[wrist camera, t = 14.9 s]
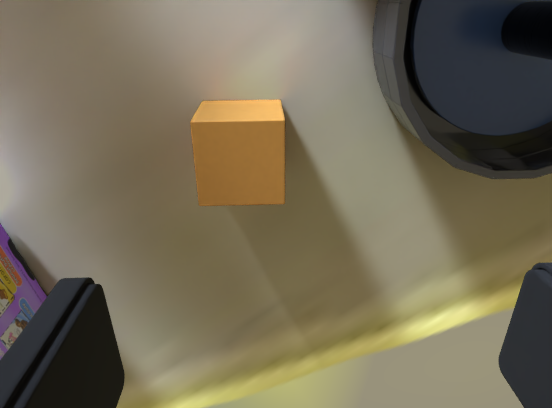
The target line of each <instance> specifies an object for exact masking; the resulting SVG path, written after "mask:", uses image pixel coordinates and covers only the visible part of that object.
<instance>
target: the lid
mask: <svg viewBox="0 0 552 408" xmlns="http://www.w3.org/2000/svg"><path fill="white" fill-rule="evenodd" d="M410 51H411V62H412V68H413V73H414V76H415V79H416V82H417V85H418V87H419V89H420V91H421V93H422V95H423V97H424V98H425V100H426V101H427V103H428V104H429V105H430V107H431V108H432V109H433V110H434V111H435V112H436V113H437V114H438V115H439V116H441V117H442V118H443V119H445V120H446V121H447V122H449V123H450V124H452V125H454V126H456V127H458V128H460V129H462V130H465V131H468V132H471V133H474V134H480V135H487V136H503V135H512V134H517V133H522V132H526V131H529V130H532V129H535V128H538V127H540V126H542V125H544V124H547V123H549V122H551V121H552V0H418V2H417V6H416V9H415V12H414V17H413V22H412V27H411V39H410Z"/></svg>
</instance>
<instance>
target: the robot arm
mask: <svg viewBox="0 0 552 408" xmlns="http://www.w3.org/2000/svg"><path fill="white" fill-rule="evenodd" d="M499 367H500V370H501V373H502V374H503V376H504V378H505V379H506V381H507V382H508V384H509V385H510V387H511V388H512V390H513V391H514V393H515V394H516V396H517V397H518V399H519V400H520V402H521V403H522V405H523V407H524V408H552V263H538V264H536V265H534V266H533V268H532V270H529V271H528V272H527V273H526V274H525V277H524V280H523V283H522V286H521V289H520V293H519V296H518V299H517V302H516V305H515V308H514V311H513V314H512V318H511V321H510V324H509V327H508V330H507V333H506V336H505V340H504V343H503V346H502V349H501V352H500V355H499ZM123 386H124V369H123V365H122V361H121V357H120V353H119V350H118V346H117V342H116V338H115V334H114V330H113V326H112V322H111V318H110V314H109V311H108V307H107V303H106V299H105V295H104V291H103V288H102V286H101V285H100V284H95V283H94V281H93V280H92V278H64V279H61V280H60V281H59V282H58V283H57V284H56V286H55V287H54V288H53V290H52V291H51V292H50V294H49V295H48V296H47V298H46V299H45V301H44V302H43V303H42V305H41V306H40V307H39V309H38V310H37V311H36V313H35V314H34V316H33V317H32V318H31V320H30V321H29V322H28V324H27V325H26V326H25V328H24V329H23V331H22V332H21V333H20V335H19V336H18V337H17V339H16V340H15V341H14V343H13V344H12V346H11V347H10V348H9V350H8V351H7V352H6V353H5V354H4V356H3V357H2V358H1V360H0V408H116V406H117V404H118V401H119V398H120V395H121V392H122V390H123Z"/></svg>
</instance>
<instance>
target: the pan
mask: <svg viewBox="0 0 552 408" xmlns="http://www.w3.org/2000/svg"><path fill="white" fill-rule="evenodd" d="M417 2H418V0H378V3H377V7H376V13H375V19H374V26H373V56H374V65H375V70H376V74H377V79H378V82H379V85H380V88H381V90H382V93H383V96H384V98H385V100H386V101H387V103H388V105H389V107H390V109H391V110H392V112H393V113H394V114H395V116H396V117H397V118H398V120H399V122H400V123H401V125H402V126H403V127H404V128H406V129H407V130H408V131H409V132H410V133H411V134H413V135H414V136H415V137H416V138H417V139H419V140H420V141H421V142H422V143H423V144H425V145H426V146H427V147H428V148H430V149H431V150H432V151H433V152H435V153H436V154H437V155H439V156H440V157H441V158H442V159H444V160H445V161H446V162H448V163H449V164H450V165H451V166H453V167H455V168H457V169H461V170H464V171H467V172H470V173H474V174H477V175H480V176H483V177H487V178H490V179H523V178H537V177H541V176H544V175H547V174H551V173H552V121H551V122H549V123H547V124H544V125H542V126H540V127H538V128H535V129H532V130H529V131H526V132H522V133H517V134H512V135H503V136H487V135H480V134H474V133H471V132H468V131H465V130H462V129H460V128H458V127H456V126H454V125H452V124H450V123H449V122H447V121H446V120H445V119H443V118H442V117H441V116H439V115H438V114H437V113H436V112H435V111H434V110H433V109H432V108H431V107H430V105H429V104H428V103H427V101H426V100H425V98H424V97H423V95H422V93H421V91H420V89H419V87H418V85H417V82H416V79H415V76H414V73H413V68H412V62H411V51H410V39H411V27H412V22H413V17H414V12H415V9H416V6H417Z"/></svg>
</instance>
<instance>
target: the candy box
mask: <svg viewBox="0 0 552 408" xmlns="http://www.w3.org/2000/svg"><path fill="white" fill-rule="evenodd" d="M46 298H47V296H46V294H45V293H44V291H43V290H42V289H41V287H40V286H39V284H38V282H37V281H36V279H35V277H34V276H33V274H32V272H31V271H30V269H29V268H28V266H27V265H26V263H25V262H24V260H23V259H22V257H21V256H20V254H19V252H18V251H17V250H16V248H15V246H14V244H13V242H12V240H11V239H10V237H9V236H8V234H7V233H6V231H5V230H4V228H3V227H2V225H1V224H0V360H1V358H2V357H3V356H4V354H5V353H6V352H7V351H8V350H9V348H10V347H11V346H12V344H13V343H14V341H15V340H16V339H17V337H18V336H19V335H20V333H21V332H22V331H23V329H24V328H25V326H26V325H27V324H28V322H29V321H30V320H31V318H32V317H33V316H34V314H35V313H36V311H37V310H38V309H39V307H40V306H41V305H42V303H43V302H44V301H45V299H46Z"/></svg>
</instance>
